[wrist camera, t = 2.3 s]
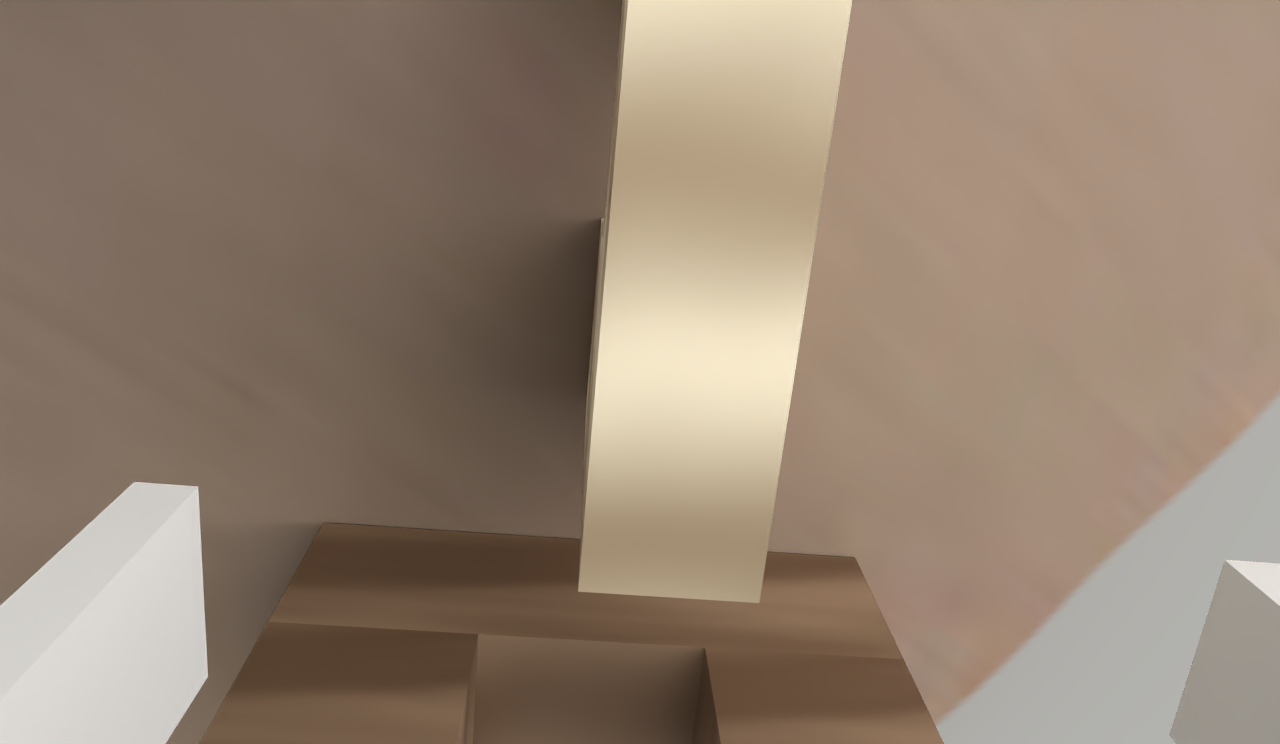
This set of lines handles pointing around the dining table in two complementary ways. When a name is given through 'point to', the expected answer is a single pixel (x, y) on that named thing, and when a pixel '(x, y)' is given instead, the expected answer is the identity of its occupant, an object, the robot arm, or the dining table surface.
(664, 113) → the cross plate
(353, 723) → the slotted base
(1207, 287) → the dining table surface
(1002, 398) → the dining table surface
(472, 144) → the dining table surface
